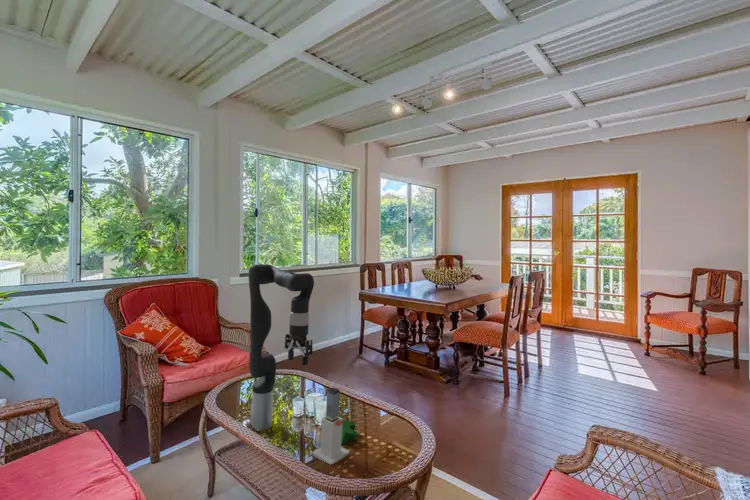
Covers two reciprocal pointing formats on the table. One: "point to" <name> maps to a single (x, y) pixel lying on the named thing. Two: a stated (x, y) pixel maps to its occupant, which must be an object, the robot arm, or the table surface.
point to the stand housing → (331, 442)
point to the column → (332, 404)
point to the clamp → (348, 431)
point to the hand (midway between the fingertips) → (297, 362)
